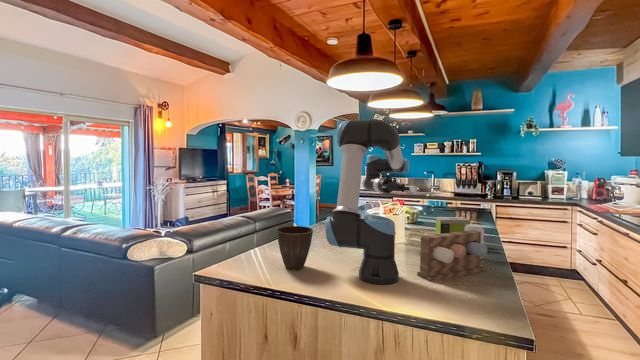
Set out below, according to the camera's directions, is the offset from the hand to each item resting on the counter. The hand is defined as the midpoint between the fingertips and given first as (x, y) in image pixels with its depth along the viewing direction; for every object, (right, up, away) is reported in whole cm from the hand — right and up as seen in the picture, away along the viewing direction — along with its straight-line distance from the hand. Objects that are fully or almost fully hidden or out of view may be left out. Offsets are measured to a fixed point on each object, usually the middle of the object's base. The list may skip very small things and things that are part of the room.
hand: (415, 189), depth 149 cm
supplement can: (+29, -32, +6) cm, 43 cm away
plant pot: (-53, -32, -10) cm, 63 cm away
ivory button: (+2, -26, -23) cm, 35 cm away
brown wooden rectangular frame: (+9, -33, -16) cm, 38 cm away
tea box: (+27, -31, +28) cm, 50 cm away
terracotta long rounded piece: (+10, -26, -17) cm, 32 cm away
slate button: (+19, -26, -15) cm, 35 cm away
